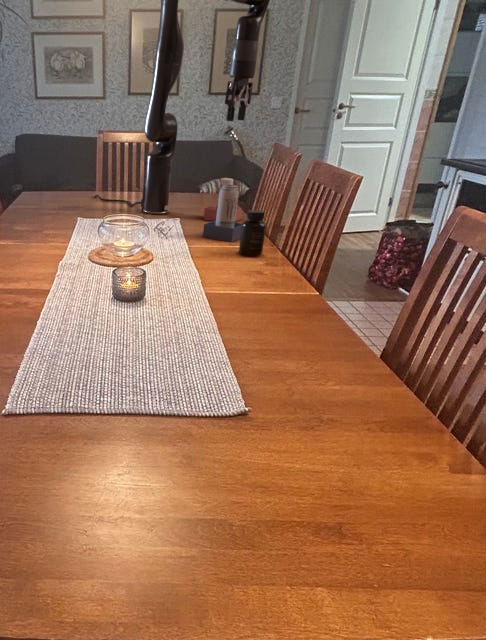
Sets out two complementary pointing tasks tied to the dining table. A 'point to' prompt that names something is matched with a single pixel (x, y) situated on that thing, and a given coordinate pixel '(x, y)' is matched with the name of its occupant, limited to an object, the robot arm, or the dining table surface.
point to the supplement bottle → (252, 234)
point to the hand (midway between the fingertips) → (235, 120)
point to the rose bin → (212, 213)
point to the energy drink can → (227, 206)
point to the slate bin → (222, 232)
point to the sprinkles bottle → (225, 182)
